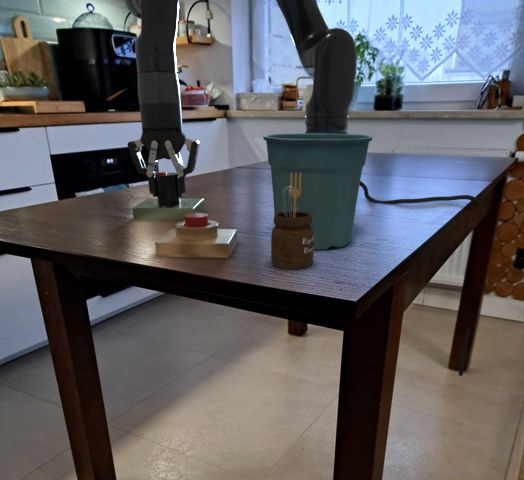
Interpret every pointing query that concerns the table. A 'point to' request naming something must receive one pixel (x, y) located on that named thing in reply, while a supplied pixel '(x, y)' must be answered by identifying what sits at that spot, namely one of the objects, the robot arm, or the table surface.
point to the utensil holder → (292, 235)
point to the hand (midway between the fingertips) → (168, 195)
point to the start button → (196, 220)
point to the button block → (197, 241)
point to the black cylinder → (167, 188)
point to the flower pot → (319, 179)
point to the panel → (166, 210)
